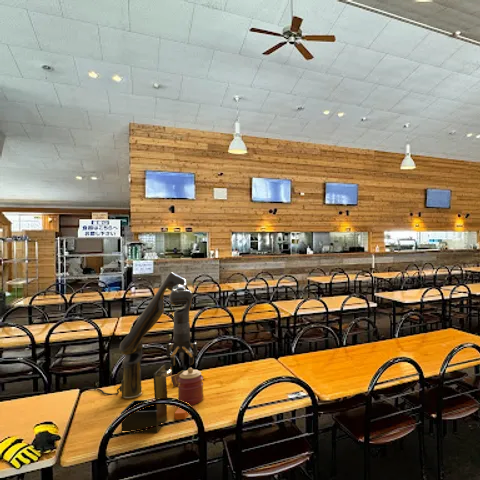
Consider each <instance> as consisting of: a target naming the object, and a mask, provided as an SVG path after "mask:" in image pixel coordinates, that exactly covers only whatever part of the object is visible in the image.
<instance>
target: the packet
mask: <svg viewBox="0 0 480 480" xmlns="http://www.w3.org/2000/svg"><path fill="white" fill-rule="evenodd" d="M188 415H189V414H188V413H187V412H186V411H184V410H182V409H180V408H179V407H178V408H177V409H176V411H175V412H174V420H186V419H187V417H188Z"/></svg>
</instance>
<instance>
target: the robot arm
mask: <svg viewBox="0 0 480 480" xmlns="http://www.w3.org/2000/svg"><path fill="white" fill-rule="evenodd" d="M167 290H169V291H171V292H170V294H169V296H168V297H169V298H168V299H169V304H171V306H183V307H182V308H180V309H176V310H175V311H173V327H172V329H173V330H172V333H173V343H171V342H168V343H167V345H166V357H167V358H170V364H171V367H172V366H175V365H176V354H177V353H178V354H181V353H182V354H185V353H186V354H187V355H188V356H189V365H190V366H192V365H193V364H194V363H195V357H196V356H197V355H198V353H199V351H198V343H197V342H193V343H192V342H191V324H190V309H191V305H192V302H193V298H194V297H193V296H194V294H193V292H192V291H191V290H190V289H187V280H186V278H184V277H183V276H180V275H179V274H177V273H175V272H173V271H172V272H170V273H168V274H167V275H166V277H165V279H164V280H163V281H162V283H161V285H160V286H159V288H158V289H157V291H156V293H155V294H154V295H153V298H151V301H149V303H148V304H147V305H146V307H145V308H144V310H143V311H142V312H141V314H140V316H139V318H138V319H137V320H136V321H135V324H134V325H133V327H132V329H130V331H129V332H128V334H127V335H126V336H125V337H124V338H123V340H122V341H121V342H120V343H119V351H120V353H121V354H123V355H124V358H123V360H122V379H121V383H120V384H121V385H119V387H118V388H117V389H116V392H115V393H108V392H104V390H102V389H100V388H97V387H91V386H84V387H83V388H81V389H80V391H83V390H85V389H89V390H96V389H97V391H98V392H101V393H102V394H103V395H108V396H112V395H113V396H115V395H119V394H120V392H121V399H125V400H132V399H136V398H138V397H140V396H142V395H143V392H142V391H143V386H142V359H143V340H142V339H143V338H144V337H145V335H146V334H147V333H148V332H149V331H150V330H152V328H153V327H154V326H155V325H156V324H157V323H158V321H159V320H160V318H161V317H162V315H163V314H164V305H165V304H164V299H165V292H166V291H167ZM172 348H173V349H174V350H173V352H172ZM191 348H192V349H193V350H192V349H191Z"/></svg>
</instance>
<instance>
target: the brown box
mask: <svg viewBox="0 0 480 480" xmlns="http://www.w3.org/2000/svg"><path fill="white" fill-rule="evenodd" d="M170 369H171V370H172V367H170ZM187 370H188V369H187ZM187 370H185V371H187ZM183 372H184V370H183V369H182V370H181V371H179V372H177V374H174V375H173V374H170V375H169V376H170V384H171V385H172V387H178V385H179V382H178V379H179V378H180V377H179V375H180V374H181V373H183ZM204 380H205V379H204V378H203V379H202V381H204Z"/></svg>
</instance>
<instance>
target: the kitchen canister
mask: <svg viewBox="0 0 480 480" xmlns="http://www.w3.org/2000/svg"><path fill="white" fill-rule="evenodd" d="M180 373H181V374H180ZM180 373H179V374H180V375H179V377H180V378H179V379H178V382H179V385H178V386H177V395H178V396H177V400H178V399H179V400H182V401H184V402H187V403H189V404H190V405H189V406H193V405H196V404H199V403H201V402H202V401H203V399H204V381H203V380H202V379H204V376H203V375H202V372H201V371H200V370H198V369H194V368H192V367H188V369H187V371H186V370H183V371H182V372H180Z"/></svg>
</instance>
